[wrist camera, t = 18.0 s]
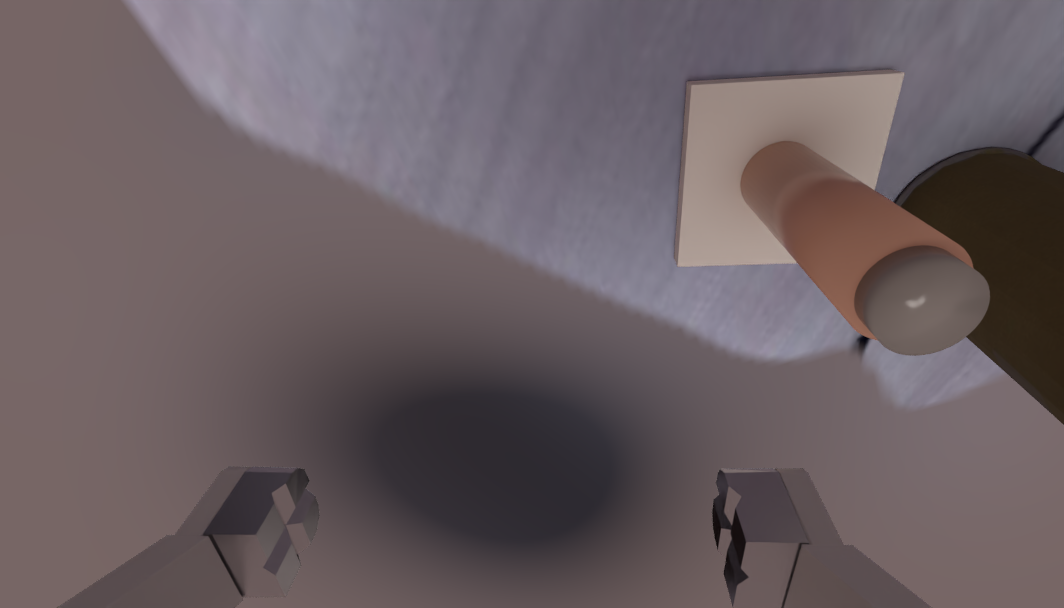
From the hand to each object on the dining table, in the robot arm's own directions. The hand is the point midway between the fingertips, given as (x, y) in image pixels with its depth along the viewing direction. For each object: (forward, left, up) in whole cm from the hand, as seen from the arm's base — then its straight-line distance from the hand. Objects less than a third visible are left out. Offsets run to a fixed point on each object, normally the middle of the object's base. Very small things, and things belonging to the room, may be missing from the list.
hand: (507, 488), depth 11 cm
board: (+3, +14, -29) cm, 33 cm away
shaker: (+3, +14, -28) cm, 31 cm away
